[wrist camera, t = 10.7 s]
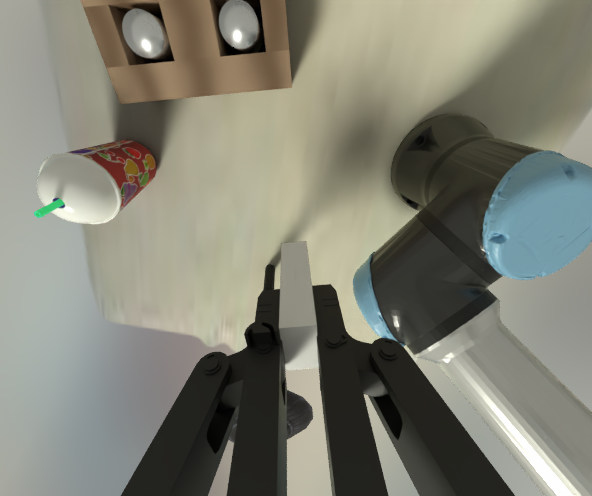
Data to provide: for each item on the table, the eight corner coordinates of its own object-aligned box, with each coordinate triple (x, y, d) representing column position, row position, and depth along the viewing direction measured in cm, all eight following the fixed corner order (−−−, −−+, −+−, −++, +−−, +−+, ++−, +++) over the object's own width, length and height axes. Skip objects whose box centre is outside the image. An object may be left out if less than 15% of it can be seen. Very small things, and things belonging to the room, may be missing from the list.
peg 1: (180, 21, 33) (155, 6, 27) (189, 60, 35) (168, 55, 29) (148, 24, 33) (115, 10, 27) (159, 63, 35) (131, 59, 29)
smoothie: (103, 127, 39) (-34, 162, 22) (162, 137, 40) (74, 177, 23) (113, 182, 44) (5, 246, 27) (166, 190, 45) (95, 256, 28)
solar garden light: (240, 239, 50) (194, 401, 25) (304, 245, 51) (324, 405, 26) (239, 289, 57) (202, 459, 31) (296, 293, 58) (306, 460, 32)
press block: (281, -34, 31) (280, -66, 24) (290, 86, 38) (292, 87, 31) (111, -16, 31) (64, -43, 25) (149, 100, 38) (120, 104, 31)
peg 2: (260, 13, 33) (254, -4, 27) (265, 53, 35) (260, 46, 29) (228, 16, 33) (214, 0, 27) (235, 56, 35) (223, 50, 29)
